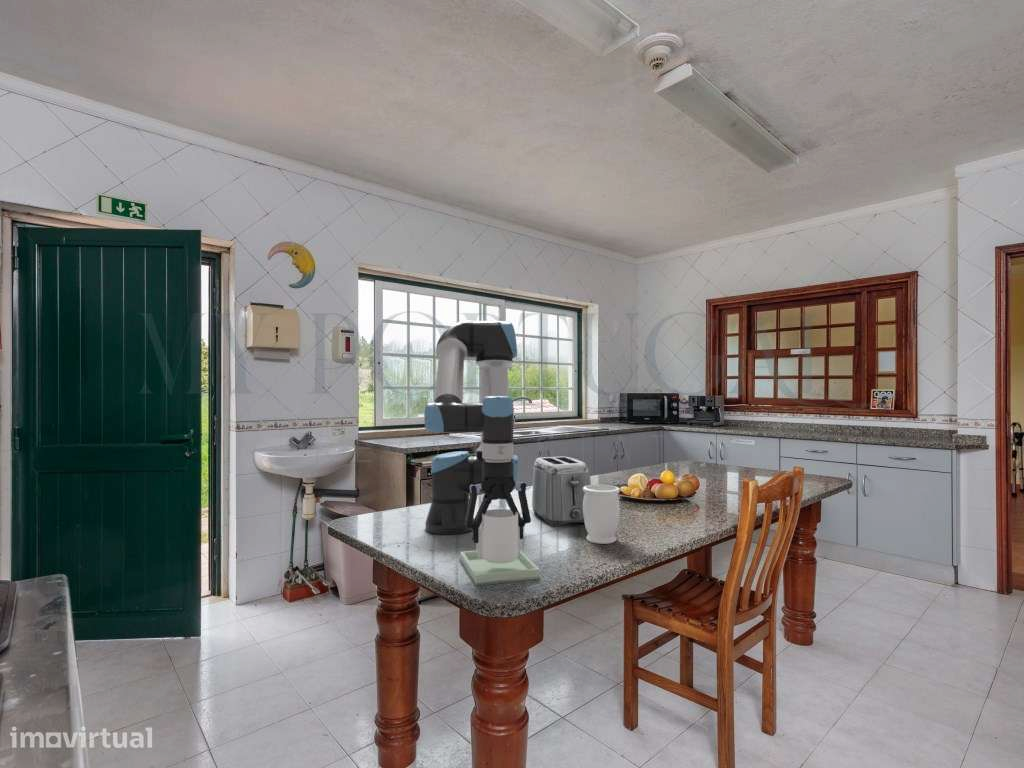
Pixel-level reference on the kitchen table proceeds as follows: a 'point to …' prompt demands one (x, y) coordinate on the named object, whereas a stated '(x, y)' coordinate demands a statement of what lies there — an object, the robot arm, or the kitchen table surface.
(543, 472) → the toaster
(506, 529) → the mug
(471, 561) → the tray
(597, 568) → the kitchen table surface
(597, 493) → the jar
